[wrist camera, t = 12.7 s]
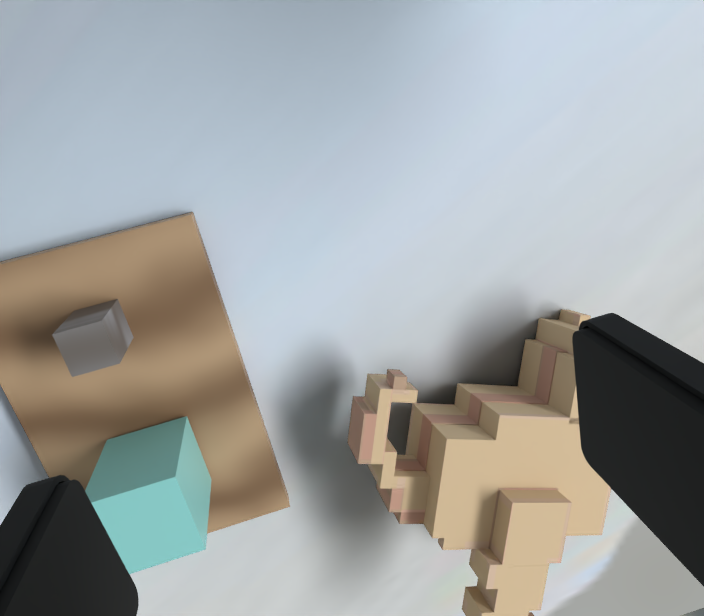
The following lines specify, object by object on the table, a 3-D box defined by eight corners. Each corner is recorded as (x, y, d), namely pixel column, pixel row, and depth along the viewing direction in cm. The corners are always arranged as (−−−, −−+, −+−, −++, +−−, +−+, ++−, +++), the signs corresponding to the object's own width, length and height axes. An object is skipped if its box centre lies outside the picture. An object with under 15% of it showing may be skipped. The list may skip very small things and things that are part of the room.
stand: (-45, 273, 31) (-97, 299, 26) (192, 211, 33) (184, 225, 28) (101, 556, 39) (81, 617, 34) (288, 496, 40) (294, 546, 36)
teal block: (107, 439, 35) (78, 506, 28) (186, 415, 35) (175, 476, 29) (136, 503, 36) (114, 578, 30) (211, 479, 37) (205, 549, 31)
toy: (634, 626, 36) (695, 336, 33) (350, 645, 32) (393, 311, 29) (550, 541, 45) (593, 309, 43) (324, 546, 41) (354, 288, 38)
